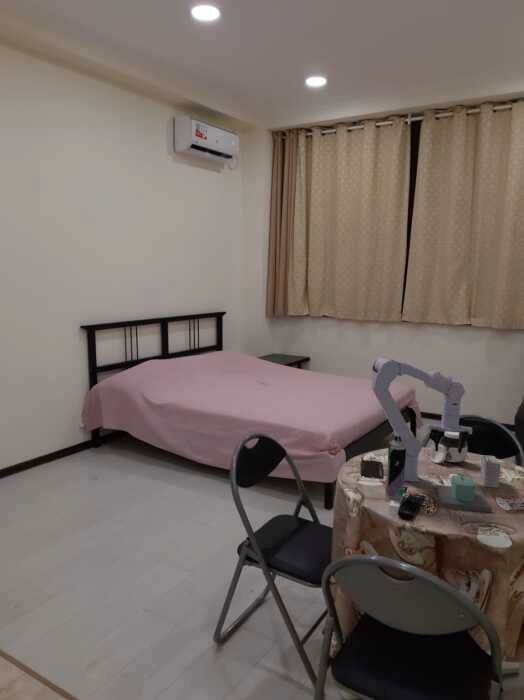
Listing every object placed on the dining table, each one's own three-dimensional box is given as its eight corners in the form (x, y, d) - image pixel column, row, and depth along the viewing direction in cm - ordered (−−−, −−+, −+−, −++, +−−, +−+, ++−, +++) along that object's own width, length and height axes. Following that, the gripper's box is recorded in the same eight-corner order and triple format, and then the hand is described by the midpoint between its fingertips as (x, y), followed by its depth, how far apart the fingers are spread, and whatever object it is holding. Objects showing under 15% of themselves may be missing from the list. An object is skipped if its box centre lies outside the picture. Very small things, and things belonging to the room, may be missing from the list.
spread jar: (468, 462, 195) (471, 433, 193) (457, 470, 186) (460, 439, 185) (438, 454, 203) (440, 426, 201) (426, 461, 194) (428, 432, 193)
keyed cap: (455, 499, 157) (456, 484, 157) (451, 489, 165) (452, 474, 164) (473, 501, 156) (474, 485, 156) (468, 491, 164) (469, 476, 163)
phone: (382, 461, 191) (382, 476, 176) (381, 464, 191) (382, 479, 177) (360, 459, 193) (359, 474, 178) (360, 462, 193) (359, 477, 178)
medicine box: (498, 488, 171) (501, 463, 170) (484, 487, 172) (487, 462, 170) (493, 479, 178) (495, 455, 177) (479, 478, 179) (481, 454, 178)
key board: (441, 507, 155) (443, 491, 155) (435, 488, 169) (436, 474, 168) (490, 512, 153) (491, 496, 152) (480, 493, 166) (481, 478, 166)
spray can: (393, 500, 159) (397, 439, 156) (381, 493, 164) (385, 434, 161) (406, 497, 162) (410, 437, 159) (394, 491, 167) (398, 432, 164)
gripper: (430, 415, 174) (427, 453, 176) (475, 418, 171) (471, 457, 173) (428, 410, 181) (425, 446, 183) (470, 413, 178) (467, 450, 180)
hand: (447, 451), depth 178 cm, fingers open, 7 cm apart
